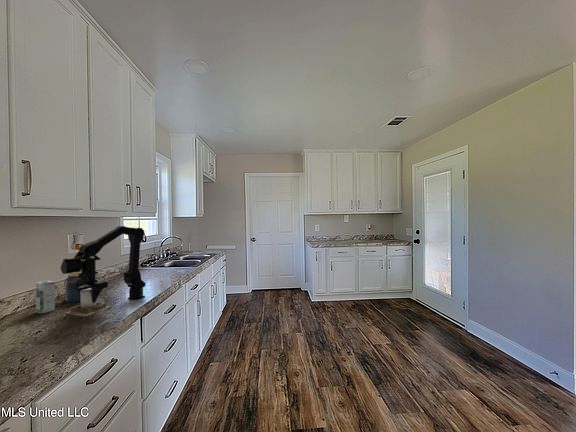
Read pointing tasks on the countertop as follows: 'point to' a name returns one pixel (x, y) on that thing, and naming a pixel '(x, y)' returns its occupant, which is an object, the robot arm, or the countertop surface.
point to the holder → (87, 310)
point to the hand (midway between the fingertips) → (88, 302)
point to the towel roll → (87, 299)
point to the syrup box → (45, 296)
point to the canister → (71, 293)
